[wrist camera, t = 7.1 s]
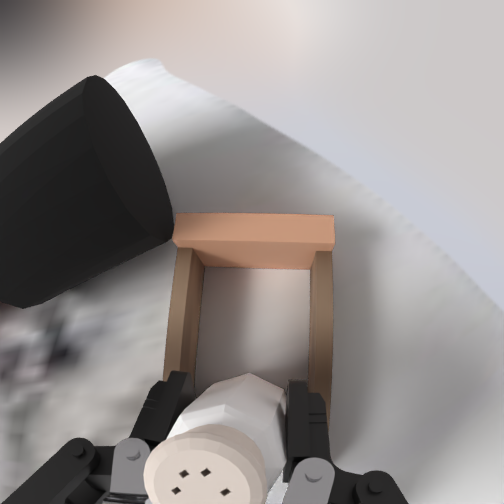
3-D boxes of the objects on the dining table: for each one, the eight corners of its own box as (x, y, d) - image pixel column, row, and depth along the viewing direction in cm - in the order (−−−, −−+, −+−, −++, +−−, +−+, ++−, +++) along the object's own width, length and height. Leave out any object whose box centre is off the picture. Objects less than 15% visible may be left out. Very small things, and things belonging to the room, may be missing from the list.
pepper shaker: (315, 423, 15) (379, 495, 5) (240, 479, 14) (195, 596, 4) (251, 353, 17) (214, 323, 6) (178, 410, 15) (55, 446, 5)
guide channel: (314, 480, 14) (324, 507, 10) (176, 468, 14) (151, 490, 10) (322, 246, 19) (333, 215, 15) (195, 243, 19) (176, 212, 16)
